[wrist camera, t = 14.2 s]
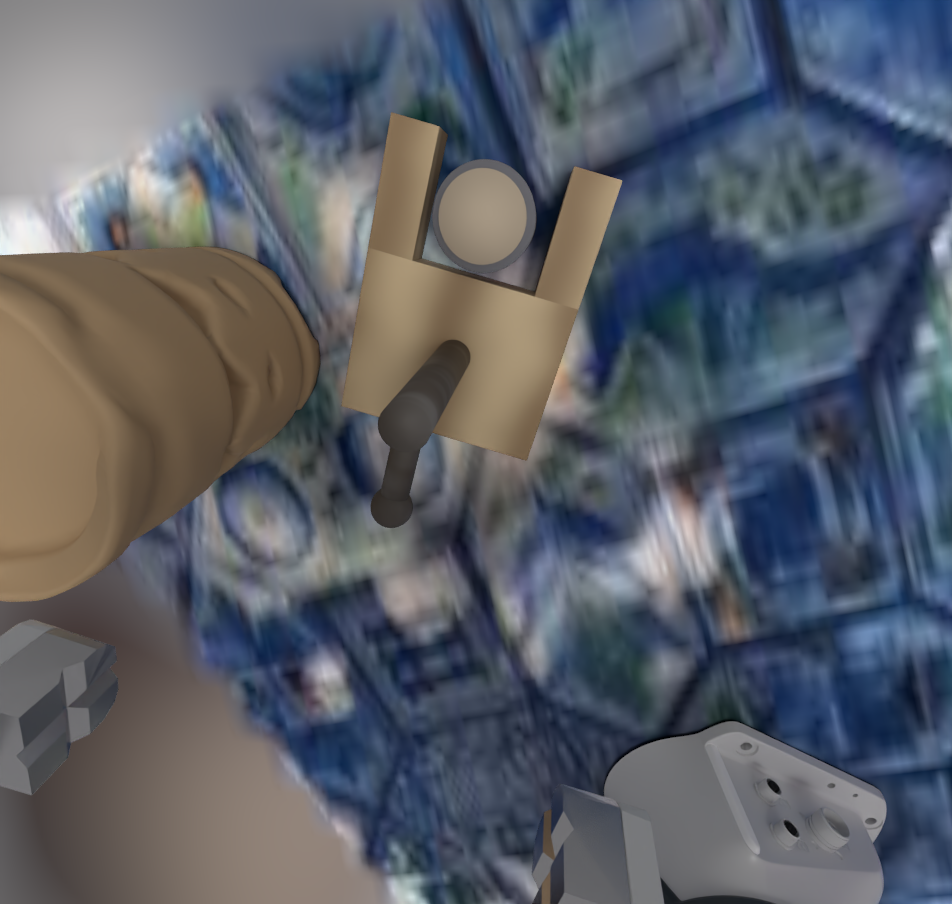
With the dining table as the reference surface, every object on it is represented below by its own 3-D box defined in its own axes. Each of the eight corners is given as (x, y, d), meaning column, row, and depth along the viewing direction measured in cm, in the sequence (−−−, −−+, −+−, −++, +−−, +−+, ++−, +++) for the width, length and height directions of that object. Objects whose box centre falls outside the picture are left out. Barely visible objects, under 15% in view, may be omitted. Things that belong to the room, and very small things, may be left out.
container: (204, 199, 31) (-178, 161, 14) (359, 355, 34) (185, 473, 17) (104, 342, 35) (-279, 438, 19) (248, 470, 38) (24, 653, 21)
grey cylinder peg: (551, 237, 30) (553, 238, 24) (478, 281, 31) (463, 292, 25) (510, 154, 28) (502, 133, 22) (436, 204, 30) (410, 196, 24)
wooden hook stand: (615, 184, 28) (683, 142, 15) (526, 449, 35) (517, 583, 21) (403, 121, 28) (281, 23, 15) (353, 398, 35) (238, 501, 21)
